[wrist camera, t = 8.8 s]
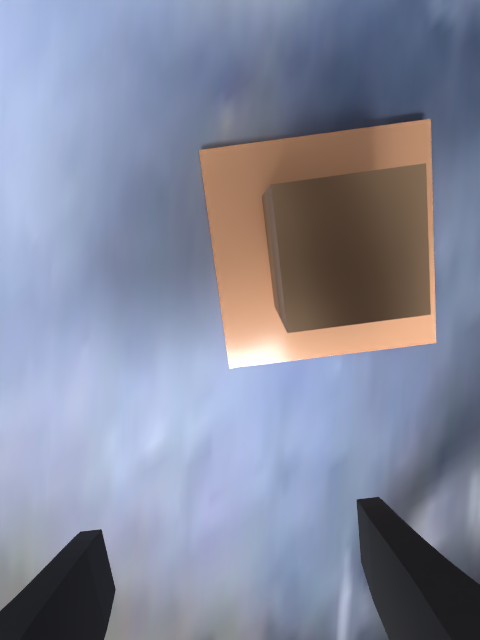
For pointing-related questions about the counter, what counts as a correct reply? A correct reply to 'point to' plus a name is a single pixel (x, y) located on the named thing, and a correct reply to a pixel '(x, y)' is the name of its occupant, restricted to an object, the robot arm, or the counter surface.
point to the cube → (349, 248)
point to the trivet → (252, 250)
